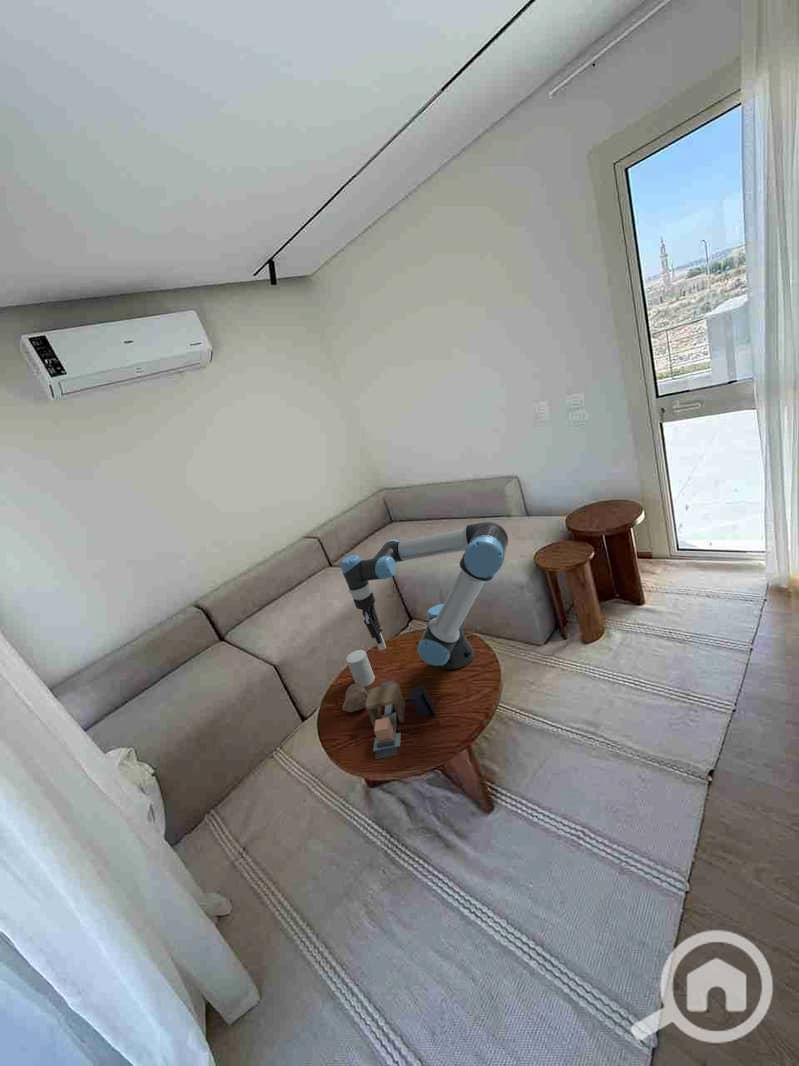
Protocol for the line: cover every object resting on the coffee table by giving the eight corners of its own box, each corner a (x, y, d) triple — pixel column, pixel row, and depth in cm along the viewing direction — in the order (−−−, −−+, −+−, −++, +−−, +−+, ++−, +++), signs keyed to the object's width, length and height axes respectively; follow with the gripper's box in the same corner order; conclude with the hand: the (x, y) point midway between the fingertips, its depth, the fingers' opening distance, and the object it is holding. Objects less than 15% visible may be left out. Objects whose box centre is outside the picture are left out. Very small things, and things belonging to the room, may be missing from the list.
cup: (372, 686, 174) (362, 661, 170) (353, 688, 176) (343, 663, 172) (376, 672, 181) (368, 648, 178) (358, 675, 183) (349, 651, 180)
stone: (369, 717, 161) (374, 690, 161) (345, 717, 157) (350, 689, 158) (360, 703, 172) (364, 678, 173) (337, 703, 169) (341, 677, 169)
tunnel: (405, 703, 159) (397, 682, 156) (404, 721, 150) (396, 700, 148) (376, 709, 160) (368, 689, 157) (373, 727, 152) (365, 706, 149)
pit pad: (397, 747, 140) (396, 747, 140) (396, 755, 137) (396, 755, 137) (376, 751, 141) (376, 751, 141) (375, 759, 138) (375, 759, 138)
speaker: (439, 703, 153) (428, 681, 150) (436, 716, 148) (424, 693, 145) (420, 705, 156) (409, 683, 153) (416, 718, 151) (404, 695, 148)
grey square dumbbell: (398, 689, 166) (395, 680, 164) (395, 744, 141) (390, 733, 140) (383, 693, 167) (380, 683, 165) (377, 748, 142) (373, 737, 140)
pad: (400, 733, 146) (400, 732, 146) (400, 746, 141) (399, 745, 140) (375, 738, 147) (374, 737, 147) (373, 751, 142) (373, 750, 142)
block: (393, 728, 146) (388, 717, 145) (392, 740, 142) (387, 728, 140) (380, 731, 147) (375, 719, 145) (378, 743, 142) (374, 731, 141)
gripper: (355, 590, 168) (375, 641, 175) (350, 606, 156) (371, 660, 163) (373, 585, 167) (392, 636, 174) (370, 601, 155) (390, 656, 162)
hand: (382, 648), depth 168 cm, fingers closed
